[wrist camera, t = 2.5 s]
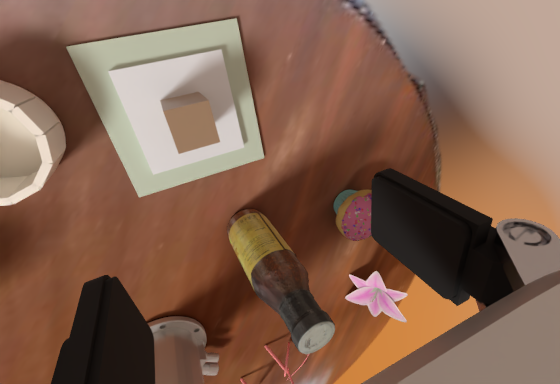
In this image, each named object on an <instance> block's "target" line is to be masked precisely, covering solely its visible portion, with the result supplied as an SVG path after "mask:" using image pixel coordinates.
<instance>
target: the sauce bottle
mask: <svg viewBox="0 0 560 384" xmlns="http://www.w3.org/2000/svg"><path fill="white" fill-rule="evenodd" d="M227 232H228V237H229V241H230V243H231V245H232V247H233V249H234V251H235V253H236V255H237V257H238V259H239V261H240V264H241V266H242V267H243V269H244V271H245V273H246V276H247V277H248V279H249V281H250V283H251V285H252V287H253V289H254V291H255V293H256V295H257V296H258V297H259V298H260V299H261V300H263V301H264V302H265V303H266V304H268V305H269V306H270V307H271V308H272V309H274V310H275V311H276V312H277V313H278V314H279V315H280V316H281V318H282V319H283V320H284V322H285V323H286V325H287V327H288V329H289V331H290V332H291V338H292V341H293V342H294V344H295V346H296V347H297V349H298V350H299V351H300V352H302V353H305V354H310V353H313V352H315V351H317V350H319V349H320V348H322V347H323V346H324V345H326V344H327V343H328V342H329V341H330V339H331V338H332V336H333V334H334V332H335V324H334V323H333V321H332V320H331V318H330V317H329V315H328V314H327V313H326V312H324V311H323V310H321V308H320V307H319V305H318V304H317V302H316V301H315V300H314V297H313V296H312V294H311V293H310V291H309V285H308V282H309V280H308V273H307V271H306V270H305V268H304V266H303V265H302V264H301V263H300V261H299V260H298V259H297V257H296V255H295V253H294V252H293V251H292V250H291V248H290V247H289V246H288V245H287V243H286V242H285V241H284V239H283V238H282V237H281V235H280V234H279V233H278V232H277V230H276V229H275V228H274V226H273V225H272V224H271V223H270V221H269V220H268V219H267V218H266V217H265V216H264V215H263V214H262V213H261V212H259V211H257V210H255V209H246V210H243V211H240V212H238V213H236V214H235V215H234V216H233V217H232V218H231V220H230V222H229V223H228V226H227Z"/></svg>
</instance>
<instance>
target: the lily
mask: <svg viewBox="0 0 560 384" xmlns="http://www.w3.org/2000/svg"><path fill="white" fill-rule="evenodd" d="M349 277H350V278H351V280H352V282H353V283H354V284H355V286H356V287H357V288H358V289H357V290H355V291H354V292H352V293H350V294H348V295H347V296H346V297H345V299H347V300H348V301H351V302H353V303H356V304H360V305H368V308H369V310H370V312H371V314H372V315H373V316H375V317H376V316H377V315H379V314H380V313H381V311H383V312H384V313H385V314H387V315H388V316H390V317H392V318H394V319H397V320H399V321H402V322H406V319H405V318H404V316H403V315H402V314H401V312H400V311H399V309H398V308H397V306H396V305H395V303H394V302H393V301H398V300H401V299H403V298H405V297H406V296H407V294H406V293H403V292H399V291H395V290H391V289H386V287H385V285H384V283H383V280H382V278H381V276H380V274H379V272H377V271H375V272H373V273H372V274H371V276H370V277H369V278H368V279H367V281H364V280H362V279H360V278H358V277H355V276H353V275H351V274H349Z"/></svg>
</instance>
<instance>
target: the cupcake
mask: <svg viewBox="0 0 560 384" xmlns="http://www.w3.org/2000/svg"><path fill="white" fill-rule="evenodd" d="M371 194H372V190H369V189H368V190H360V191H355V190H350V189H349V190H345V191H343V192H341V193H340V194H339V195H338V196H337V197H336V199H335V201H334V211H335V212H336V214H337V217H336V225H337V227H338V229H339V231H340V232H341V233H342V234H343V235H344V236H345V237H346V238H348V239H350V240H353V241H359V240H361V239H364V240H365V238H367V237H370V236H372V234H371Z"/></svg>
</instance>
